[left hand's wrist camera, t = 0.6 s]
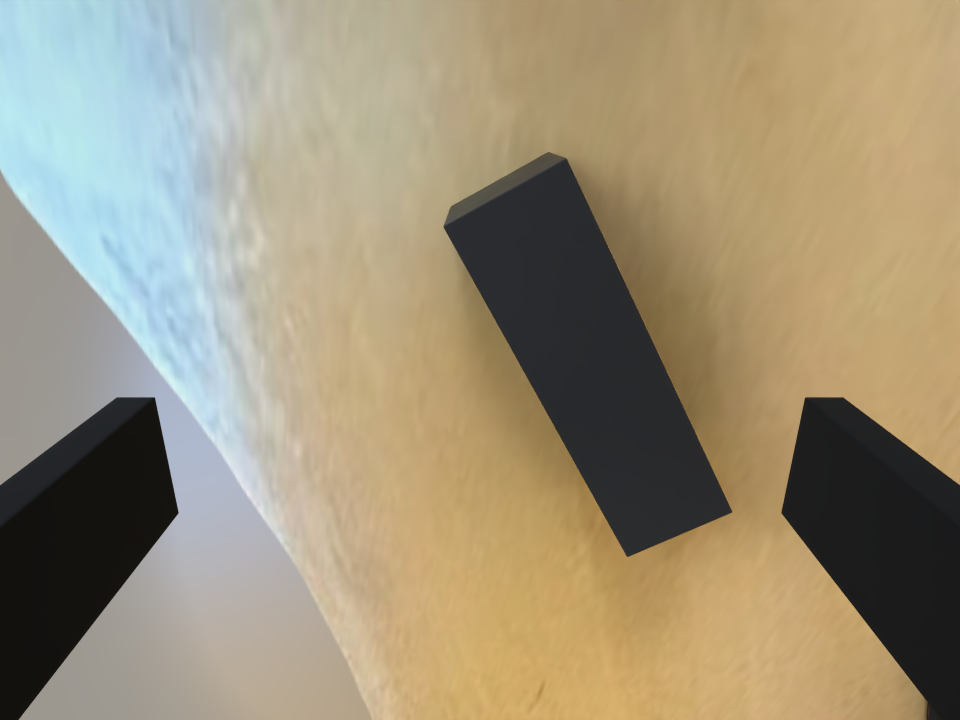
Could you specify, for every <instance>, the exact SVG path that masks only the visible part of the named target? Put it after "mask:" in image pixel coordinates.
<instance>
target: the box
mask: <svg viewBox="0 0 960 720" xmlns="http://www.w3.org/2000/svg"><path fill="white" fill-rule="evenodd" d="M444 229H445V231H446V232H447V234H448V236H449V238H450V240H451V241H452V243H453V245H454V247H455V249H456V250H457V252H458V254H459V256H460V258H461V259H462V261H463V263H464V265H465V267H466V268H467V270H468V272H469V274H470V276H471V277H472V279H473V281H474V283H475V284H476V286H477V288H478V290H479V292H480V293H481V295H482V297H483V299H484V301H485V302H486V304H487V306H488V308H489V310H490V311H491V313H492V315H493V317H494V319H495V320H496V322H497V324H498V326H499V328H500V329H501V331H502V333H503V335H504V337H505V338H506V340H507V342H508V344H509V346H510V347H511V349H512V351H513V353H514V355H515V356H516V358H517V360H518V362H519V364H520V365H521V367H522V369H523V371H524V372H525V374H526V376H527V378H528V380H529V381H530V383H531V385H532V387H533V389H534V390H535V392H536V394H537V396H538V398H539V399H540V401H541V403H542V405H543V407H544V408H545V410H546V412H547V414H548V416H549V417H550V419H551V421H552V423H553V425H554V426H555V428H556V430H557V432H558V434H559V435H560V437H561V439H562V441H563V443H564V444H565V446H566V448H567V450H568V452H569V453H570V455H571V457H572V459H573V461H574V462H575V464H576V466H577V468H578V469H579V471H580V473H581V475H582V477H583V478H584V480H585V482H586V484H587V486H588V487H589V489H590V491H591V493H592V495H593V496H594V498H595V500H596V502H597V504H598V505H599V507H600V509H601V511H602V513H603V514H604V516H605V518H606V520H607V522H608V523H609V525H610V527H611V529H612V531H613V532H614V534H615V536H616V538H617V540H618V541H619V543H620V545H621V547H622V549H623V550H624V552H625V554H626V556H627V557H629V556H631V555H633V554H636V553H638V552H640V551H643V550H645V549H647V548H650V547H652V546H654V545H657V544H659V543H662V542H664V541H666V540H669V539H671V538H673V537H676V536H678V535H680V534H683V533H685V532H687V531H690V530H692V529H694V528H697V527H699V526H701V525H704V524H706V523H708V522H711V521H713V520H715V519H718V518H720V517H722V516H725V515H727V514H729V513H732V510H731V508H730V506H729V504H728V502H727V500H726V497H725V495H724V493H723V491H722V489H721V487H720V485H719V482H718V480H717V478H716V476H715V474H714V472H713V470H712V468H711V465H710V463H709V461H708V459H707V457H706V455H705V453H704V450H703V448H702V446H701V444H700V442H699V440H698V438H697V436H696V433H695V431H694V429H693V427H692V425H691V423H690V421H689V419H688V416H687V414H686V412H685V410H684V408H683V406H682V404H681V401H680V399H679V397H678V395H677V393H676V391H675V389H674V387H673V384H672V382H671V380H670V378H669V376H668V374H667V372H666V369H665V367H664V365H663V363H662V361H661V359H660V357H659V355H658V352H657V350H656V348H655V346H654V344H653V342H652V340H651V338H650V335H649V333H648V331H647V329H646V327H645V325H644V323H643V320H642V318H641V316H640V314H639V312H638V310H637V308H636V306H635V303H634V301H633V299H632V297H631V295H630V293H629V291H628V288H627V286H626V284H625V282H624V280H623V278H622V276H621V274H620V271H619V269H618V267H617V265H616V263H615V261H614V259H613V257H612V254H611V252H610V250H609V248H608V246H607V244H606V242H605V239H604V237H603V235H602V233H601V231H600V229H599V227H598V225H597V222H596V220H595V218H594V216H593V214H592V212H591V210H590V207H589V205H588V203H587V201H586V199H585V197H584V195H583V193H582V190H581V188H580V186H579V184H578V182H577V180H576V178H575V176H574V173H573V171H572V169H571V167H570V165H569V163H568V161H567V159H566V158H563V157H561V156H558V155H555V154H552V153H550V152H548V153H546V154H544V155H542V156H541V157H539V158H537V159H535V160H533V161H532V162H530V163H528V164H526V165H525V166H523V167H521V168H519V169H517V170H516V171H514V172H512V173H510V174H508V175H507V176H505V177H503V178H501V179H500V180H498V181H496V182H494V183H492V184H491V185H489V186H487V187H485V188H483V189H482V190H480V191H478V192H476V193H475V194H473V195H471V196H469V197H467V198H466V199H464V200H462V201H460V202H458V203H457V204H455V205H453V206H451V208H450V210H449V213H448V216H447V219H446V221H445V224H444Z"/></svg>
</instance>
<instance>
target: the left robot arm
mask: <svg viewBox="0 0 960 720" xmlns="http://www.w3.org/2000/svg"><path fill="white" fill-rule="evenodd" d="M177 514H178V508H177V503H176V498H175V493H174V488H173V484H172V479H171V474H170V469H169V464H168V459H167V454H166V450H165V445H164V440H163V435H162V430H161V425H160V420H159V415H158V411H157V406H156V401H155V398H116V399H114V400H113V401H112V402H110V403H109V404H108V405H106V406H105V407H104V408H102V409H101V410H100V411H98V412H97V413H96V414H94V415H93V416H92V417H90V418H89V419H88V420H86V421H85V422H84V423H82V424H81V425H80V426H78V427H77V428H76V429H74V430H73V431H72V432H70V433H69V434H68V435H67V436H65V437H64V438H62V439H61V440H60V441H58V442H57V443H56V444H54V445H53V446H52V447H51V448H49V449H48V450H47V451H45V452H44V453H43V454H41V455H40V456H39V457H37V458H36V459H35V460H33V461H32V462H31V463H29V464H28V465H27V466H25V467H24V468H23V469H21V470H20V471H19V472H17V473H16V474H15V475H13V476H12V477H11V478H9V479H8V480H7V481H5V482H4V483H3V484H1V485H0V720H19V718H20V717H21V716H22V714H23V713H24V712H25V711H26V709H27V708H28V707H29V705H30V704H31V703H32V702H33V700H34V699H35V698H36V696H37V695H38V694H39V693H40V691H41V690H42V689H43V687H44V686H45V685H46V684H47V682H48V681H49V680H50V678H51V677H52V676H53V675H54V673H55V672H56V671H57V669H58V668H59V667H60V665H61V664H62V663H63V662H64V660H65V659H66V658H67V656H68V655H69V654H70V653H71V651H72V650H73V649H74V647H75V646H76V645H77V644H78V642H79V641H80V640H81V638H82V637H83V636H84V635H85V633H86V632H87V631H88V629H89V628H90V627H91V625H92V624H93V623H94V621H95V620H96V619H97V618H98V616H99V615H100V614H101V613H102V611H103V610H104V609H105V607H106V606H107V605H108V604H109V602H110V601H111V600H112V598H113V597H114V596H115V594H116V593H117V592H118V591H119V589H120V588H121V587H122V585H123V584H124V583H125V582H126V580H127V579H128V578H129V576H130V575H131V574H132V573H133V571H134V570H135V569H136V567H137V566H138V565H139V564H140V562H141V561H142V560H143V558H144V557H145V556H146V554H147V553H148V552H149V551H150V549H151V548H152V547H153V545H154V544H155V543H156V542H157V540H158V539H159V538H160V536H161V535H162V534H163V533H164V531H165V530H166V529H167V527H168V526H169V525H170V523H171V522H172V521H173V520H174V518H175V517H176V516H177ZM782 514H783V516H784V517H785V518H786V520H787V521H788V522H789V524H790V525H791V526H792V527H793V529H794V530H795V531H796V533H797V534H798V535H799V536H800V538H801V539H802V540H803V542H804V543H805V544H806V545H807V547H808V548H809V549H810V551H811V552H812V553H813V554H814V556H815V557H816V558H817V560H818V561H819V562H820V564H821V565H822V566H823V567H824V569H825V570H826V571H827V573H828V574H829V575H830V576H831V578H832V579H833V580H834V582H835V583H836V584H837V585H838V587H839V588H840V589H841V591H842V592H843V593H844V595H845V596H846V597H847V598H848V600H849V601H850V602H851V604H852V605H853V606H854V607H855V609H856V610H857V611H858V613H859V614H860V615H861V616H862V618H863V619H864V620H865V622H866V623H867V624H868V625H869V627H870V628H871V629H872V631H873V632H874V633H875V635H876V636H877V637H878V638H879V640H880V641H881V642H882V644H883V645H884V646H885V647H886V649H887V650H888V651H889V653H890V654H891V655H892V656H893V658H894V659H895V660H896V662H897V663H898V664H899V665H900V667H901V668H902V669H903V671H904V672H905V673H906V675H907V676H908V677H909V678H910V680H911V681H912V682H913V684H914V685H915V686H916V687H917V689H918V690H919V691H920V693H921V694H922V695H923V696H924V698H925V699H926V700H927V702H928V703H929V704H930V706H931V707H932V708H933V709H934V711H935V712H936V713H937V715H938V716H939V717H940V718H941V720H960V485H959V484H957V483H956V482H955V481H953V480H952V479H951V478H949V477H948V476H947V475H945V474H944V473H943V472H941V471H940V470H939V469H937V468H936V467H935V466H933V465H932V464H931V463H929V462H928V461H927V460H925V459H924V458H923V457H921V456H920V455H919V454H917V453H916V452H915V451H913V450H912V449H911V448H909V447H908V446H907V445H906V444H904V443H903V442H902V441H900V440H899V439H898V438H896V437H895V436H894V435H892V434H891V433H890V432H888V431H887V430H886V429H884V428H883V427H882V426H880V425H879V424H878V423H876V422H875V421H874V420H872V419H871V418H870V417H868V416H867V415H866V414H864V413H863V412H862V411H860V410H859V409H858V408H856V407H855V406H854V405H852V404H851V403H850V402H848V401H847V400H846V399H844V398H805V401H804V406H803V411H802V415H801V420H800V425H799V430H798V435H797V440H796V445H795V449H794V454H793V459H792V464H791V469H790V474H789V479H788V484H787V488H786V493H785V498H784V503H783V508H782Z"/></svg>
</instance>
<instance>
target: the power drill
mask: <svg viewBox="0 0 960 720" xmlns="http://www.w3.org/2000/svg"><path fill="white" fill-rule="evenodd" d="M927 720H941V718H940V717H939V716H938V715H937V713H936V712H935V711H934V709H933V708H932V707H931V706H930V704H929V703H928V707H927Z"/></svg>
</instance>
